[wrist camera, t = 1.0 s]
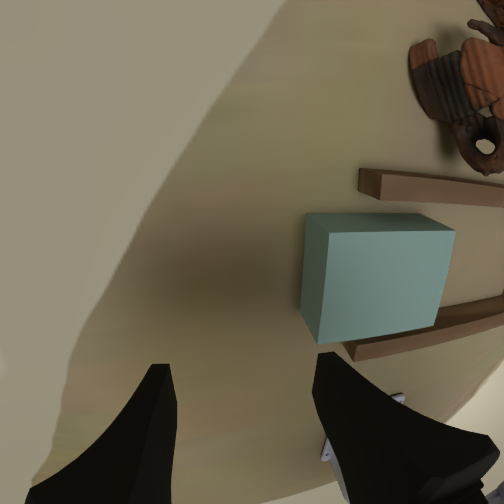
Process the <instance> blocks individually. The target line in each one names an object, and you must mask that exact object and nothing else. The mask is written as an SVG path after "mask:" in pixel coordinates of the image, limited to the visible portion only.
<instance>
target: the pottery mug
mask: <svg viewBox="0 0 504 504" xmlns="http://www.w3.org/2000/svg"><path fill="white" fill-rule="evenodd" d="M467 25H468V27H469V28H471V29H474V30H478V31H480V32H481V33H482V34H484V35H485V36H486V37H488V38H489V41H490V42H486V41H484V40H481V39H477V38H470V39H467V40H465V41H464V42H463V44H462V47H461V51H459V50H457V51H454V52H452V53H450V54H448V55H445V56H443V57H441V58H439V56H438V54H437V50H436V42H435V41H434V40H433V39H426V40H424V41H422V42H421V43H418V44H417V45H415V46H412V47H411V48H410V54H409V55H410V63H411V68H412V74H413V78H414V81H415V88H416V90H417V92H418V97H419V99H420V102H421V104H422V106H423V107H424V109H425V111H426V113H427V115H428V116H429V118H431V119H437V120H442V121H445V122H449V123H451V126H450V127H449V132H450V133H451V134H452V135H454V137H455V139H456V142H457V146H458V148H459V151H460V154H461V156H462V157H463V159H464V160H465V161H466V162H467V163H468V164H469V165H470V166H471V168H473V169H474V170H475V171H477V172H480V173H482V174H483V175H484V176H488V175H489V174H493V173H497V174H499V173H501V172H502V171H504V26H501V27H499V28H496V27H494V26H492V25H490V24H489V23H487V22H484V21H477V20H474V19H470V20H469V21H468V22H467ZM487 106H489V108H490V112H491V113H492V115H493V116H490V117H488V118H486V117H485V116H483V115H482V114H480V113H478V111H479V110H480V109H482V108H484V107H487ZM482 139H487V140H489V141H491V142H492V143H493V144H494V145H495V149H494V151H493V152H492V153H491V154H484V153H482V152H481V151H480V150H479V149H478V148H477V147H476V142H477V141H478V140H482Z"/></svg>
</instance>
